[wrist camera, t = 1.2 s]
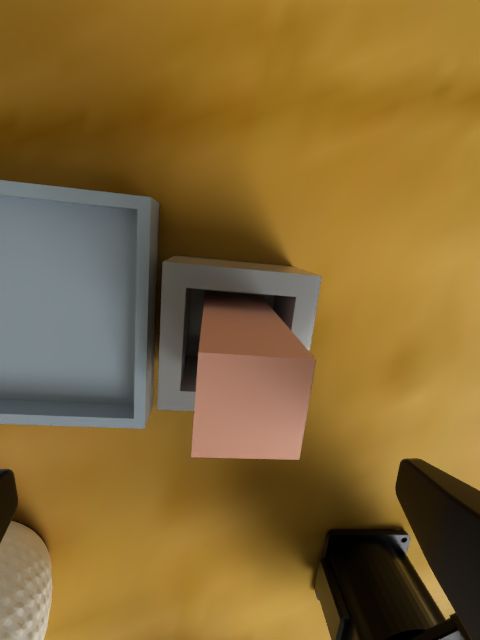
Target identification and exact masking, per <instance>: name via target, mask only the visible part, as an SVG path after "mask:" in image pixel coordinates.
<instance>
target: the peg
mask: <svg viewBox="0 0 480 640" xmlns="http://www.w3.org/2000/svg"><path fill="white" fill-rule="evenodd" d="M315 363H316V359H315V358H314V356H313V355H312V354H311V353H310V352H309V351H308V350H307V348H306V347H305V346H304V345H303V344H302V343H301V341H300V340H299V339H298V338H297V337H296V336H295V335H294V333H293V332H292V331H291V330H290V329H289V328H288V326H287V325H286V324H285V323H284V322H283V321H282V320H281V318H280V317H279V316H278V315H277V314H276V313H275V311H274V310H273V309H272V308H271V307H270V306H269V304H268V303H267V302H266V301H265V300H264V299H263V298H262V296H261V295H249V294H237V293H225V292H213V291H205V299H204V308H203V316H202V325H201V334H200V343H199V351H198V365H197V380H196V394H195V408H194V423H193V437H192V452H191V457H204V458H244V459H285V460H299V459H300V453H301V447H302V441H303V435H304V429H305V423H306V417H307V411H308V405H309V399H310V393H311V387H312V381H313V375H314V369H315Z"/></svg>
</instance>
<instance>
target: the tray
mask: <svg viewBox="0 0 480 640" xmlns="http://www.w3.org/2000/svg"><path fill="white" fill-rule="evenodd" d="M159 204H160V203H159V202H157V201H156V200H155V199H153V198H152V197H147V196H138V195H129V194H120V193H111V192H102V191H93V190H85V189H76V188H67V187H58V186H49V185H40V184H31V183H23V182H14V181H5V180H0V424H19V425H49V426H78V427H108V428H138V429H145V426H146V424H147V421H148V418H149V415H150V412H151V409H152V406H153V384H154V354H155V324H156V294H157V264H158V234H159Z"/></svg>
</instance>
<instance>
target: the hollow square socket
mask: <svg viewBox="0 0 480 640" xmlns="http://www.w3.org/2000/svg"><path fill="white" fill-rule="evenodd" d="M321 278H322V276H320V275H317V274H314V273H311V272H308V271H305V270H302V269H299V268H296V267H293V266H284V265H273V264H263V263H252V262H241V261H231V260H220V259H209V258H199V257H188V256H177V255H176V256H173V257H171V258H169V259H167V260H165V261H163V264H162V291H161V318H160V345H159V372H158V399H157V410H175V411H194V408H195V394H196V380H197V365H198V351H199V343H200V334H201V325H202V316H203V308H204V299H205V291H213V292H225V293H237V294H249V295H261V296H262V298H263V299H264V300H265V301H266V302H267V303H268V304H269V306H270V307H271V308H272V309H273V310H274V311H275V313H276V314H277V315H278V316H279V317H280V318H281V320H282V321H283V322H284V323H285V324H286V325H287V326H288V328H289V329H290V330H291V331H292V332H293V333H294V335H295V336H296V337H297V338H298V339H299V340H300V341H301V343H302V344H303V345H304V346H305V347H306V348H307V350H308V351H309V352H310V346H311V340H312V334H313V328H314V321H315V315H316V309H317V303H318V296H319V290H320V284H321Z"/></svg>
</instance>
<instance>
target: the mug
mask: <svg viewBox="0 0 480 640" xmlns="http://www.w3.org/2000/svg"><path fill="white" fill-rule="evenodd" d="M52 587H53V586H52V570H51V561H50V555H49V552H48V549H47V547H46V545H45V544H44V542H43V541H42V539H41V538H40V537H39V536H38V535H37V534H36V533H35V532H34V531H33V530H31V529H30V528H28V527H26V526H25V525H23V524H20V523H18V522H15V521H11V523H10V525H9V527H8V529H7V531H6V533H5V535H4V537H3V539H2V541H1V543H0V640H44V636H45V632H46V629H47V626H48V624H47V622H48V619H49V611H50V605H51V602H52V600H51V593H52Z"/></svg>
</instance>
